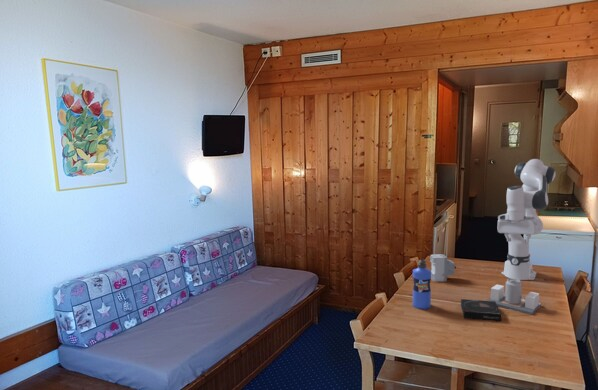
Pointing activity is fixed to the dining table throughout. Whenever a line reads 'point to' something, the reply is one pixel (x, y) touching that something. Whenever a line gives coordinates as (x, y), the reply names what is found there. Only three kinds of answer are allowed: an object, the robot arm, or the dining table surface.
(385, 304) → the dining table surface
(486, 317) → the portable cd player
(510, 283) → the can
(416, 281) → the water bottle
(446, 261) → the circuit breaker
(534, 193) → the robot arm
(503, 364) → the dining table surface
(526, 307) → the board
